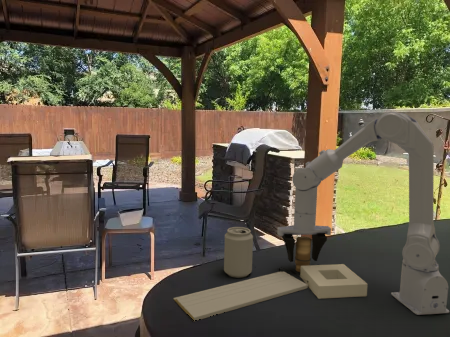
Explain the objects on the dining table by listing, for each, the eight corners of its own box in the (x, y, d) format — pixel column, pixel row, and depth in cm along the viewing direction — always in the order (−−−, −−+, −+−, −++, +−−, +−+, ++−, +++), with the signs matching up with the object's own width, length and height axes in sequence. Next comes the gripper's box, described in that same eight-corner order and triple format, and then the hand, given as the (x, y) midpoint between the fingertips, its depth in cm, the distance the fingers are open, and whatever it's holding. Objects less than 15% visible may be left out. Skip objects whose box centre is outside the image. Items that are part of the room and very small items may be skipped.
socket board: (366, 296, 86) (367, 284, 85) (318, 298, 84) (319, 286, 84) (342, 274, 97) (343, 264, 97) (300, 276, 96) (300, 265, 95)
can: (254, 278, 94) (256, 233, 93) (226, 279, 93) (227, 234, 91) (248, 266, 101) (249, 225, 100) (221, 267, 100) (222, 225, 99)
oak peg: (312, 273, 98) (314, 241, 97) (297, 273, 98) (299, 241, 96) (306, 267, 102) (308, 236, 101) (292, 267, 102) (293, 236, 100)
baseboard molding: (171, 299, 83) (194, 324, 73) (171, 287, 83) (194, 311, 73) (277, 272, 99) (308, 290, 89) (277, 262, 99) (308, 279, 89)
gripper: (324, 207, 103) (321, 253, 105) (274, 208, 101) (272, 255, 102) (335, 214, 96) (332, 263, 98) (282, 215, 94) (280, 265, 95)
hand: (302, 260), depth 100 cm, fingers open, 6 cm apart
